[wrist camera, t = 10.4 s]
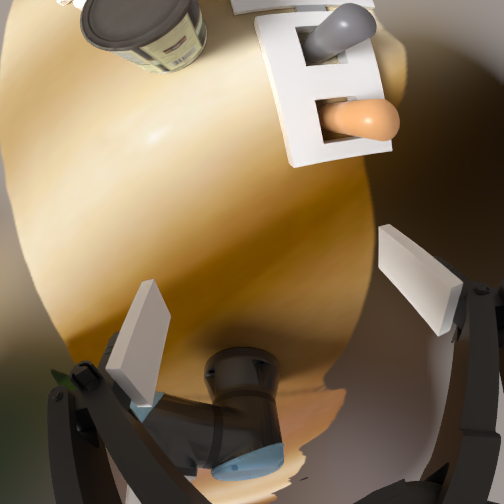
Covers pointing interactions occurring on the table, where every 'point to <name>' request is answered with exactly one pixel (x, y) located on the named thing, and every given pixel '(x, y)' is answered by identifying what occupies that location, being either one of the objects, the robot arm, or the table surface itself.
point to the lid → (292, 5)
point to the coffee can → (146, 31)
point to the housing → (315, 87)
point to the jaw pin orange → (361, 118)
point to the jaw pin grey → (338, 32)
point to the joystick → (79, 3)
